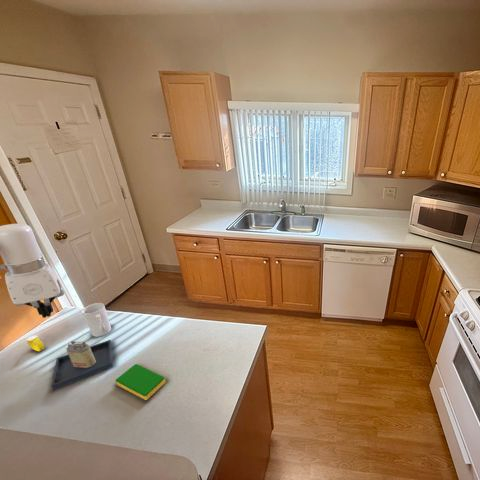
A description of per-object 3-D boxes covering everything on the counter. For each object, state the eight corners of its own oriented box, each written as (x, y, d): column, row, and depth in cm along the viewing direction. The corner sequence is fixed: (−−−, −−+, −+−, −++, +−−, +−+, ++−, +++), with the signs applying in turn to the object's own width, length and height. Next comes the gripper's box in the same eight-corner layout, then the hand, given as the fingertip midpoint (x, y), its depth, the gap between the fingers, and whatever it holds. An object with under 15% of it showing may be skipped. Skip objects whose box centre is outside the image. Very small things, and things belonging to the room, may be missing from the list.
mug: (89, 331, 105) (79, 308, 100) (109, 323, 110) (101, 300, 105) (96, 344, 99) (86, 320, 94) (117, 334, 104) (109, 311, 99)
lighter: (70, 367, 89) (60, 346, 85) (80, 358, 93) (71, 337, 89) (90, 368, 89) (81, 347, 85) (99, 359, 92) (91, 339, 88)
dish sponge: (146, 400, 80) (144, 395, 79) (116, 384, 85) (114, 379, 84) (166, 382, 86) (164, 377, 85) (137, 368, 91) (136, 363, 90)
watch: (48, 349, 96) (42, 337, 94) (39, 354, 94) (33, 342, 91) (37, 344, 98) (31, 333, 95) (28, 350, 95) (21, 338, 93)
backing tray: (53, 390, 82) (51, 385, 81) (58, 362, 91) (56, 358, 90) (112, 366, 91) (111, 362, 90) (111, 343, 100) (110, 339, 99)
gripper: (-18, 277, 68) (9, 330, 75) (59, 264, 77) (77, 313, 84) (-8, 265, 74) (16, 316, 81) (62, 254, 82) (79, 301, 89)
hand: (47, 314), depth 82 cm, fingers closed
